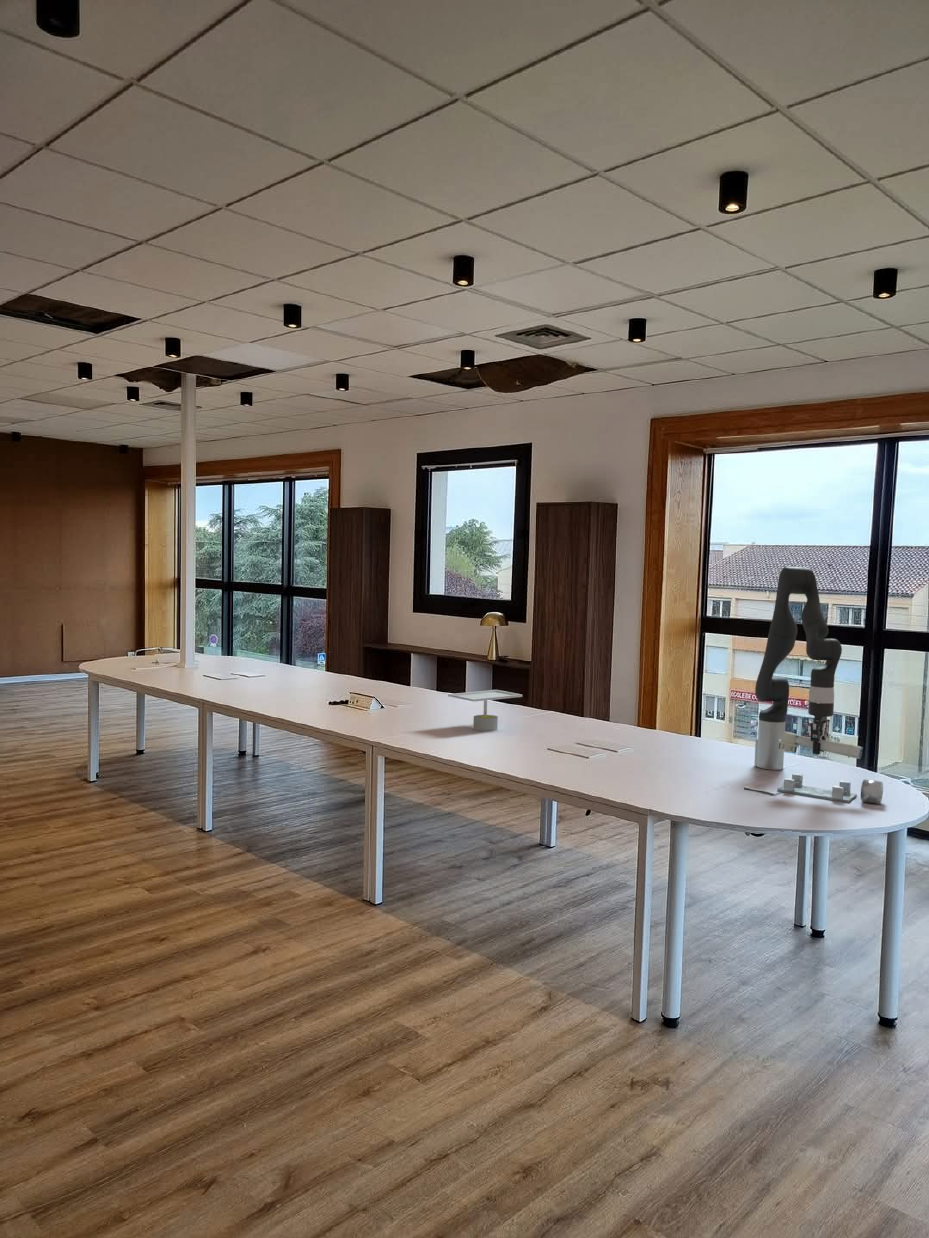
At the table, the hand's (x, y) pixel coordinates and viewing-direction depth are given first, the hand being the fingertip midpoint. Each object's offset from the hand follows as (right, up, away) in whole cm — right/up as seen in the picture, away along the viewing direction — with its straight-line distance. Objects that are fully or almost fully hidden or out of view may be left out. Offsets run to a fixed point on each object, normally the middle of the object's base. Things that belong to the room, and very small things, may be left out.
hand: (818, 752), depth 295 cm
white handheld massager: (0, -1, 0) cm, 1 cm away
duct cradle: (+3, -14, -1) cm, 14 cm away
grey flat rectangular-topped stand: (-105, -5, +100) cm, 145 cm away
